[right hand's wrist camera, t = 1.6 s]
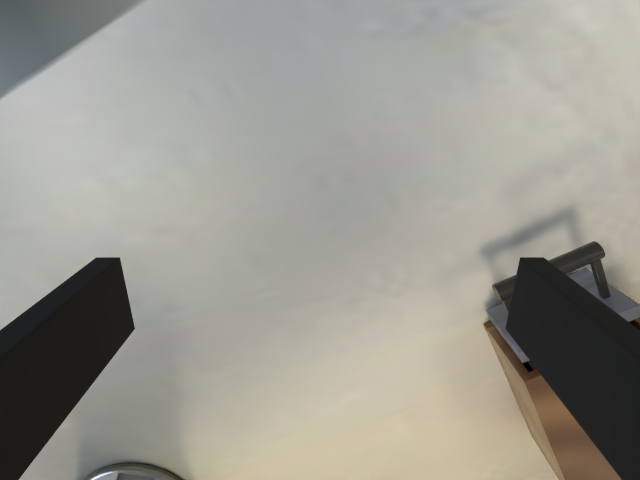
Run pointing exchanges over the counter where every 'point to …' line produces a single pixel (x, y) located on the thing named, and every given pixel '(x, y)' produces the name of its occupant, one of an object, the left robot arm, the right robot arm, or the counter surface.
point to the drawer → (584, 278)
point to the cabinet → (551, 419)
